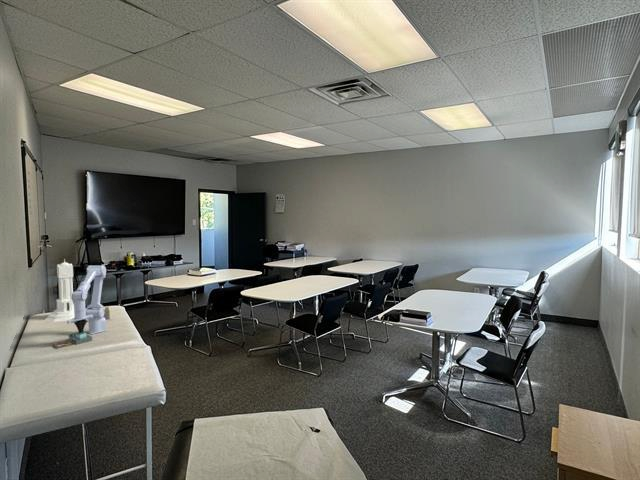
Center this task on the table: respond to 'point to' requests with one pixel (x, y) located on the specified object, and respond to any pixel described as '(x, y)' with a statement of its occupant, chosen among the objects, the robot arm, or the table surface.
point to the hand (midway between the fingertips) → (80, 332)
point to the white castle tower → (64, 294)
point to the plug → (81, 335)
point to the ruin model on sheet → (106, 313)
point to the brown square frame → (62, 345)
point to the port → (78, 341)
